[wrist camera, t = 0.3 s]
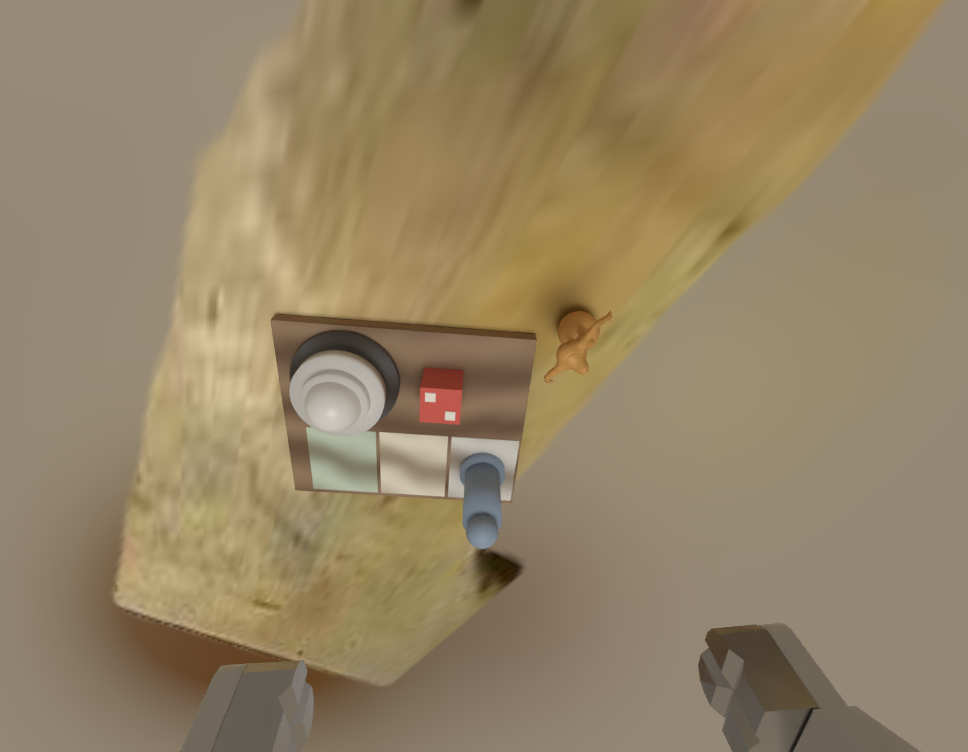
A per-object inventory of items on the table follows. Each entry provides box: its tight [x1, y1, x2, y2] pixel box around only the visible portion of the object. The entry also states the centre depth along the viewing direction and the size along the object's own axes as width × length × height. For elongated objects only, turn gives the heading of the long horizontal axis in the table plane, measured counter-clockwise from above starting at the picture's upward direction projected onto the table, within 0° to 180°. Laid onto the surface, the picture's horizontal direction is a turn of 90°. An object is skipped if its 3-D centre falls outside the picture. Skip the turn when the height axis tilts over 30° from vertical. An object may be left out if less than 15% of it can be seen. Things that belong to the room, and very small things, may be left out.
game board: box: [271, 314, 537, 503], centre depth 52 cm, size 22×26×2 cm
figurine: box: [544, 311, 612, 383], centre depth 42 cm, size 8×6×12 cm
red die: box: [419, 367, 464, 425], centre depth 48 cm, size 4×4×4 cm
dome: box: [289, 350, 386, 436], centre depth 45 cm, size 9×9×5 cm
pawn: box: [460, 452, 505, 549], centre depth 50 cm, size 5×5×11 cm
